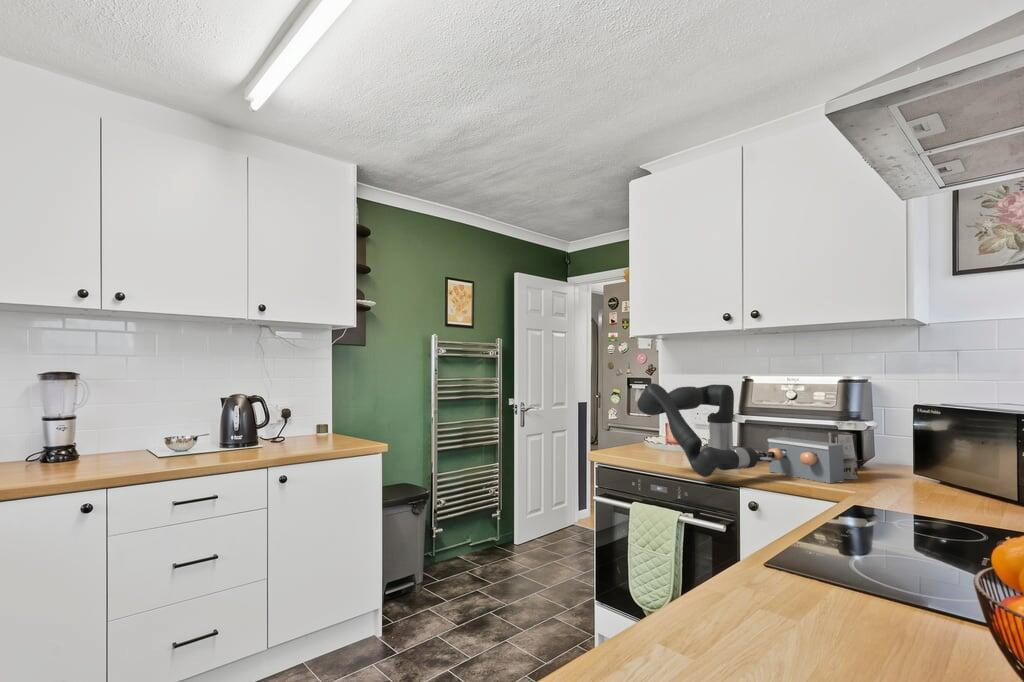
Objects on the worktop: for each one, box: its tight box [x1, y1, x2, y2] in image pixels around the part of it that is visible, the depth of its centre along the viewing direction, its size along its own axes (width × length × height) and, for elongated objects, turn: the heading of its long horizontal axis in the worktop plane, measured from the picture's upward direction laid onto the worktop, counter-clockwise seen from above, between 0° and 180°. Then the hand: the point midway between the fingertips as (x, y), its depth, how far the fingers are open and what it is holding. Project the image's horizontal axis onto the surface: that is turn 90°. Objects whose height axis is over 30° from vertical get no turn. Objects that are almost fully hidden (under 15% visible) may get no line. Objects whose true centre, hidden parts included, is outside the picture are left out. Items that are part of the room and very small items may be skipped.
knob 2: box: [800, 452, 817, 465], centre depth 194 cm, size 4×12×4 cm, turn 117°
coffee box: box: [828, 431, 859, 480], centre depth 200 cm, size 9×6×16 cm
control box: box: [767, 436, 845, 484], centre depth 200 cm, size 24×8×13 cm, turn 27°
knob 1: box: [767, 448, 787, 461], centre depth 204 cm, size 4×12×4 cm, turn 117°
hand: (772, 454), depth 201 cm, fingers closed
